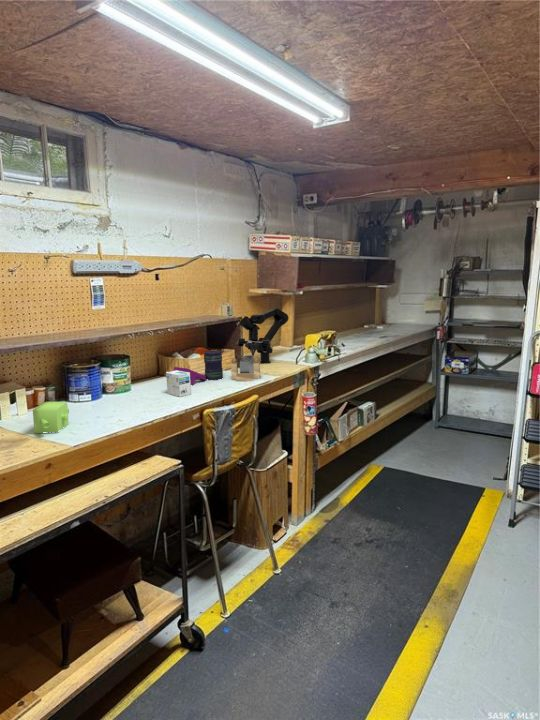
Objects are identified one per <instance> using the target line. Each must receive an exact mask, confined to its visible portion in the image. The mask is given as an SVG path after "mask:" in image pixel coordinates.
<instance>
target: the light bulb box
mask: <svg viewBox="0 0 540 720" xmlns="http://www.w3.org/2000/svg"><path fill="white" fill-rule="evenodd" d="M165 376H166V388H167V389H166V393H167V395H171V394H172V395H171V396H174V395H175V396H176V397H178V396H179V397H180V398H181V396H182V397H186V396H189V395H192V386H191V383H190V373H189V372H183V371H178V370H176V371H173V370H171V371H166V372H165ZM185 395H186V396H185Z"/></svg>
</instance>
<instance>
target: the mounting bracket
mask: <svg viewBox="0 0 540 720" xmlns="http://www.w3.org/2000/svg"><path fill="white" fill-rule="evenodd" d="M176 370H178V371H183V372H189V373H190V383H191V385H192V386H193V385H195V382H196V380H198V379H200V380H199V381H207V380H206V376H205V374H202V373H199V372H197V371H195V370H193V369H191V368H186V367H178V366H174V367H173V370H172V371H176Z"/></svg>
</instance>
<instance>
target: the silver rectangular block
mask: <svg viewBox="0 0 540 720" xmlns="http://www.w3.org/2000/svg"><path fill="white" fill-rule="evenodd" d="M253 363H254V356H253V355H252V354H250V355H243V357H242V359H240V361H239V373H254V364H253Z"/></svg>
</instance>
